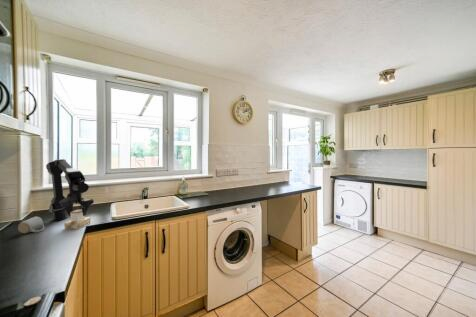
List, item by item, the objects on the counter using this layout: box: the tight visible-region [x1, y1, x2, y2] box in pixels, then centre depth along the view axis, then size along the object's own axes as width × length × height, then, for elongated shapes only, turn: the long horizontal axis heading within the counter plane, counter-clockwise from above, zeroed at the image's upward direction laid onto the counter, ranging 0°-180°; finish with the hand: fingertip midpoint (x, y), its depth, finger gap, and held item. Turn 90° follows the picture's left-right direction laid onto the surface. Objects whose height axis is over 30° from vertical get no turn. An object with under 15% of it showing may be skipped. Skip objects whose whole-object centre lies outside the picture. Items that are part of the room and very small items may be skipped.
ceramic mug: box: [17, 216, 45, 234], centre depth 116 cm, size 11×8×8 cm
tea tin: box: [70, 209, 86, 222], centre depth 122 cm, size 5×5×6 cm
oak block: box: [63, 216, 92, 230], centre depth 122 cm, size 9×9×4 cm
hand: (77, 215), depth 122 cm, fingers open, 9 cm apart
